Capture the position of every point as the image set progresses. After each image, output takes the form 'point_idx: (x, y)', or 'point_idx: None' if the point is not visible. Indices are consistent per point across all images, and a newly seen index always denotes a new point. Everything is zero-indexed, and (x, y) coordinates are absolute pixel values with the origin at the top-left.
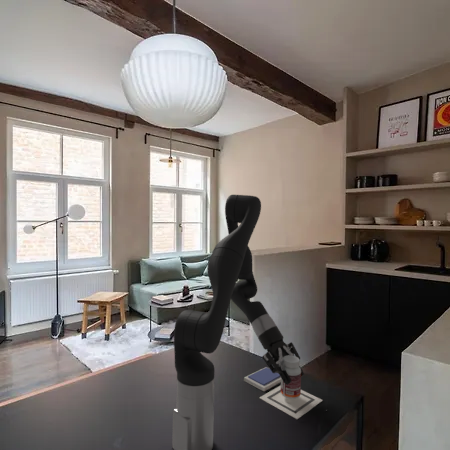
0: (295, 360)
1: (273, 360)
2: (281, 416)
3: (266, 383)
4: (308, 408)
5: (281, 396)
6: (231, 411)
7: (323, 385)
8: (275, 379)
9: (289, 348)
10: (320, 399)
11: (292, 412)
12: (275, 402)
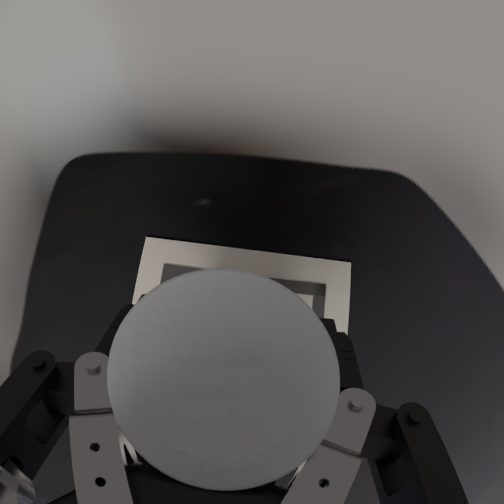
0: (226, 313)
1: (435, 485)
2: (376, 321)
3: None
4: (250, 257)
5: None
6: (455, 457)
7: (38, 281)
8: None
9: (13, 482)
10: (147, 245)
11: (328, 298)
12: None
